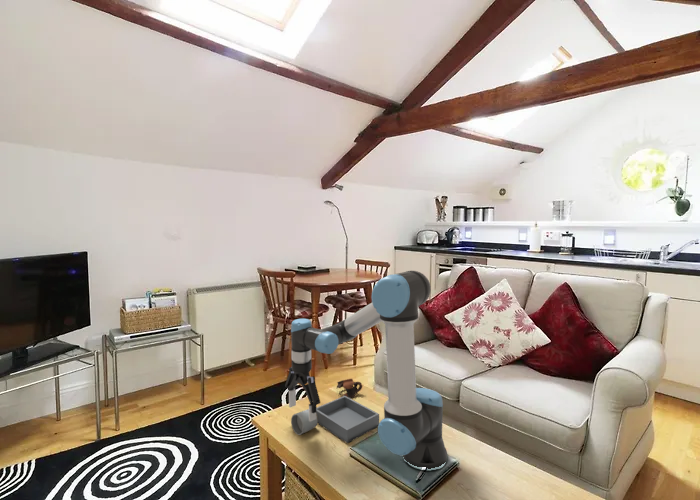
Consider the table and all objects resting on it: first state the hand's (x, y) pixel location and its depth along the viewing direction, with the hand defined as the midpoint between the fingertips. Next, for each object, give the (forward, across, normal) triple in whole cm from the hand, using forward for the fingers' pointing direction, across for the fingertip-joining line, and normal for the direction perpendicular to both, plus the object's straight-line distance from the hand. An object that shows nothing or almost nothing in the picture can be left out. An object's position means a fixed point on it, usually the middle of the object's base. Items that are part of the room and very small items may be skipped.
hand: (302, 412), depth 148 cm
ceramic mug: (+7, 0, 0) cm, 7 cm away
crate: (+6, -8, -15) cm, 18 cm away
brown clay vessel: (+7, +9, -32) cm, 34 cm away
